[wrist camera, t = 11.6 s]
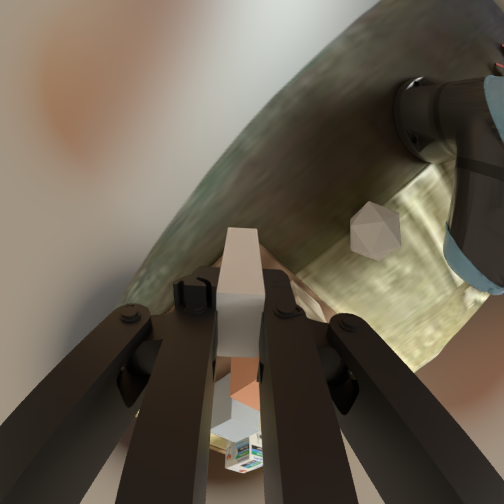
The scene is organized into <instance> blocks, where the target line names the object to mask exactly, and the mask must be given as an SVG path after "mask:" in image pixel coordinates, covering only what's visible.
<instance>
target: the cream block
mask: <svg viewBox="0 0 504 504" xmlns="http://www.w3.org/2000/svg"><path fill="white" fill-rule="evenodd" d="M290 283H291V288H292V290H293V293H294V297H295V300H296V304H298V305H299V306H300V307H302V308H303V309H304V311H305V312H306V316H307V317H308V318H310V319H313V320H316V321H320V322H325V323H327V322H326V320H325V317H324V315H323V312H322V310H321V307H320V305H319V304H318V303H317V302H316V301H315V300H314V299H313V298H312V297H311V296H310V295H308V294H307V293H306V292H305V291H304V290H303V289H302V288H301V287H299V286H298V285H297V284H296V283H295V282H294V281H293V280H292V281H291V282H290Z"/></svg>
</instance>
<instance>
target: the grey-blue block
mask: <svg viewBox="0 0 504 504" xmlns="http://www.w3.org/2000/svg"><path fill="white" fill-rule="evenodd" d="M230 376H231V372H230V373H229V374H227V375H226V376H225V377H223V378H222V379H220V380H219V381H217V382H216V383H215V387H214V398H213V409H212V420H211V432H210V433H213V434H215V435H217V436H220V437H222V438H225V439H227V440H230V441H232V442H238V441H240V440H242V439H245V438H247V437H249V436H251V435H253V434H255V433H258V432H260V416H259V411H257V410H255V409H253V408H251V407H249V406H247V405H245V404H243V403H241V402H239V401H237V400H235V399H233V398H231V397H230Z"/></svg>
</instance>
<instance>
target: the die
mask: <svg viewBox="0 0 504 504" xmlns="http://www.w3.org/2000/svg"><path fill="white" fill-rule="evenodd" d="M350 240H351V251H353V252H356V253H358V254H361V255H363V256H366V257H368V258H371V259H373V260H376V261H379V262H380V261H381V260H383V259H384V258H385V257H387V256H388V255H390V254H391V253H392V252H394V251H395V250H396V249H398V248H399V247H400V246H401V236H400V222H399V213H397V212H395V211H393V210H390V209H388V208H385V207H383V206H381V205H378V204H376V203H373V202H371V201H368V202H367V203H366V204H365V205H364V206H363V207H362V208H361V209H360V210H359V211H358V212H357V213H356V214H355V215H354V216H353V217H352V218H351V219H350Z"/></svg>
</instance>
